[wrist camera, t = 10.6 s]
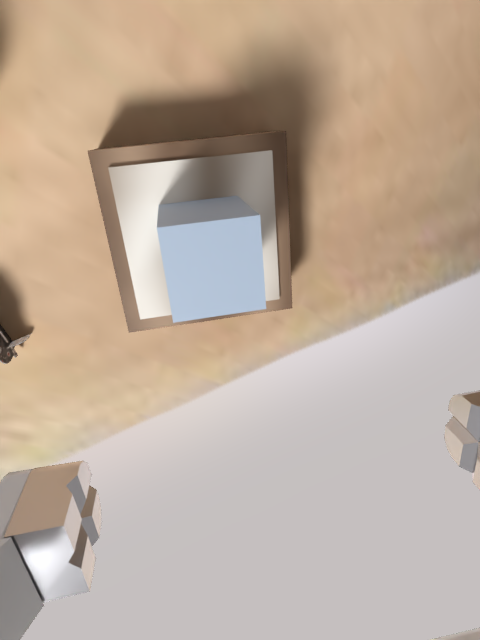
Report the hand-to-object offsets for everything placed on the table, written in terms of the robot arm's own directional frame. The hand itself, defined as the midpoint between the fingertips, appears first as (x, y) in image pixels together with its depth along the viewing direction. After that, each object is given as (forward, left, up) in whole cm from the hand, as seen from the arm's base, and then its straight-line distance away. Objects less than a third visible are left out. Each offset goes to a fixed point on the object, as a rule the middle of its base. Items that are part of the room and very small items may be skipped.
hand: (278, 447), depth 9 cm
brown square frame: (0, 0, -24) cm, 24 cm away
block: (0, 0, -20) cm, 20 cm away
